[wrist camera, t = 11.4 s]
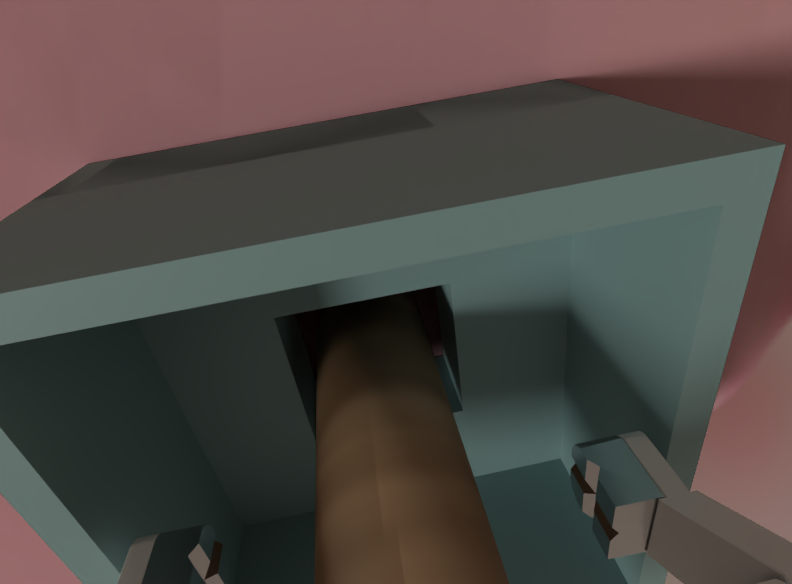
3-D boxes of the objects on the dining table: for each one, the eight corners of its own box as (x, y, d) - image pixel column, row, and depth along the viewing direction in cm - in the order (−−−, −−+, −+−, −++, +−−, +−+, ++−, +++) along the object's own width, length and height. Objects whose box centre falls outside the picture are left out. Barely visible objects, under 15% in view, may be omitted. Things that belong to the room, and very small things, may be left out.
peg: (306, 282, 16) (282, 750, 6) (410, 262, 16) (563, 683, 6) (329, 363, 18) (341, 826, 8) (422, 345, 18) (554, 775, 8)
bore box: (87, 163, 13) (-155, 323, 7) (557, 78, 14) (786, 144, 7) (239, 476, 20) (199, 711, 14) (548, 411, 21) (658, 605, 14)
